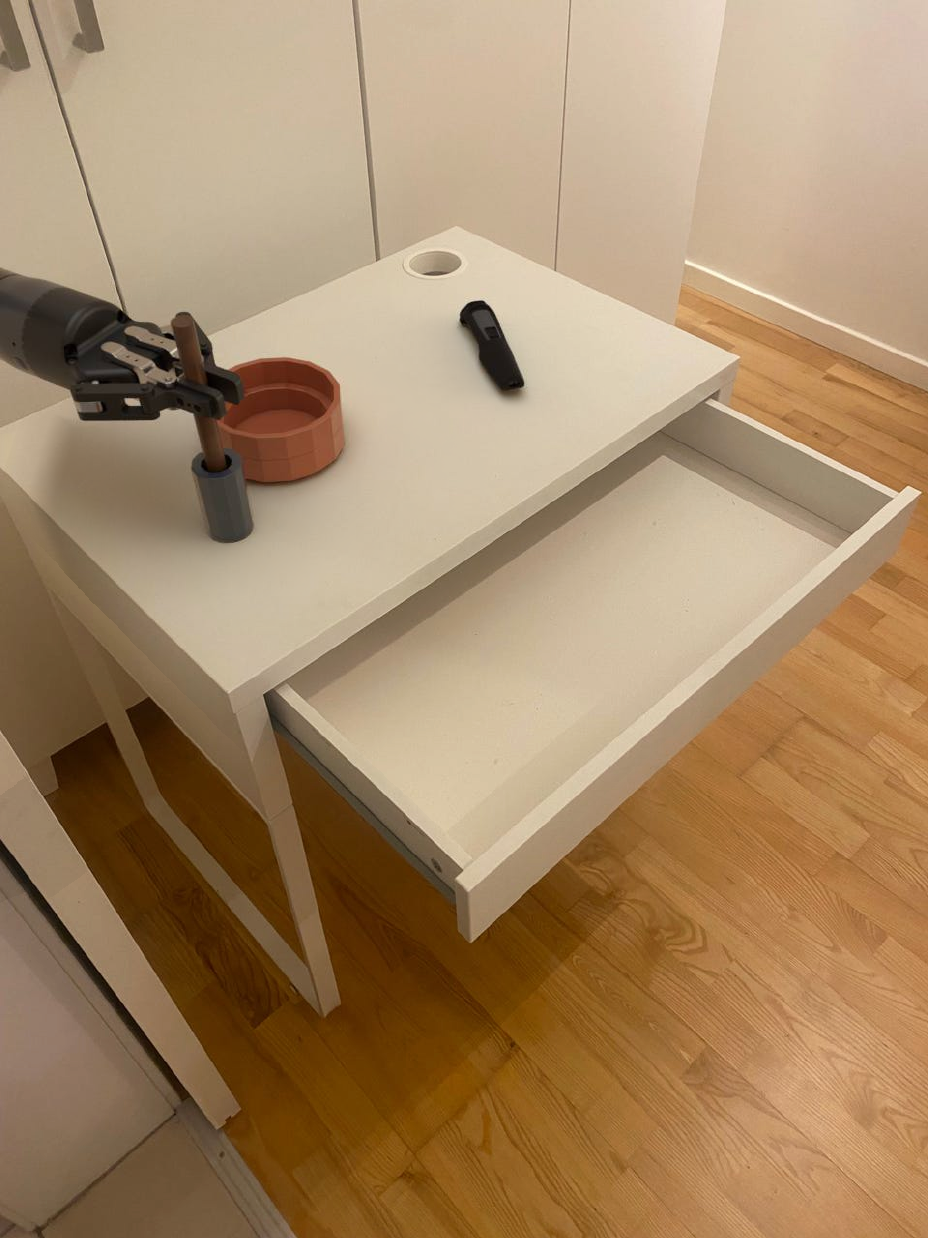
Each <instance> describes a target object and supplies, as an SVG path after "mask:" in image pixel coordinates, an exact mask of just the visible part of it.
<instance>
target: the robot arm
mask: <svg viewBox="0 0 928 1238" xmlns="http://www.w3.org/2000/svg"><path fill="white" fill-rule="evenodd" d="M182 315H187V316H190V317H192V318H193V320H194V324H195V328H196V333H197V337H198V341H199V346H200V350H201V354H202V359H203V363H204V368H205V372H206V376H207V381H208V385H209V387H208V386H205V385H202V384H200V383H197V382H194V381H192V380H187V379H186V378H184V375H183V371H182V367H181V363H180V359H179V355H178V351H177V347H176V343H175V339H174V334H173V330H172V326H171V324H167V325H163V326H159V325H158V324H156V323H154V322H150V321H137V320H134V319H132V318H131V317H129V315H128V314H126V312H124V311H123V309H121V307H119V306H117V305H116V304H115V303H112V302H110V301H108V300H105V299H102V298H99V297H96V296H94V295H91V294H89V293H85V292H82V291H80V290H77V289H73V288H70V287H68V286H65V285H62V284H59V283H56V282H53V281H51V280H46V279H45V278H44V279H43V278H38V277H32V276H26V275H24V274H20V273H18V272H15V271H12V270H9V269H7V268H3V267H1V266H0V361H3V362H5V363H6V364H7V365H9V366H11V367H13V368H14V369H17V370H18V371H21V372H23V373H26V374H28V375H31V376H33V377H36V378H37V379H40V380H43V381H45V382H48V383H50V384H52V385H56V386H58V387H60V388H63V389H66V390H67V391H69V392H70V395H71V397H72V401H73V404H74V407H75V410H76V412H77V413H76V414H77V415H78V418H79V420H81V421H83V422H115V421H116V422H118V421H119V422H121V421H122V422H124V421H125V422H126V421H128V422H129V421H155V420H157V419H159V418H160V417H161V412H162V411H165V410H169V411H179V410H181V411H184V412H187V413H190V414H192V415H193V414H195V415H197V416H200V417H203V418H213V419H216V420H220V419H221V418H223V417H224V416H225V415H226V414H227V411H226V406H225V401H226V402H229V403H232V404H234V405H238V404H239V403H241V402H242V401H243V400H244V399H245V396H244V390H243V385H242V381H241V379H240V376H239V375H238V374H237V373H235V372H232V371H229V370H228V369H226V368H224V367H221V366H218V365H217V364H216V362H215V361H216V360H215V355H214V351H213V350H214V349H213V343H212V342H211V340H210V339H209V338H208V336H207V334H206V333H205V332H204V330H203V329H202V328H201V326H200V325H199V324H198V322H197V321H196V319H195V318H194V316H193V315H192V314H191V313H190V312H189V311H179V312H177V313H176V314H175V316H174V318H175V317H177V316H182ZM126 399H132V400H135V401H137V402H139V404H140V405H129V404H127V403H126Z"/></svg>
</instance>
